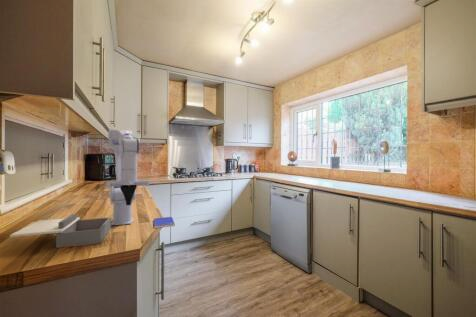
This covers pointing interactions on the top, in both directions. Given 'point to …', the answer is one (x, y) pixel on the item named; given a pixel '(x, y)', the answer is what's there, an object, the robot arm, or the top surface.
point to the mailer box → (84, 232)
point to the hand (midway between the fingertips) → (128, 204)
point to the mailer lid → (47, 226)
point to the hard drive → (163, 222)
